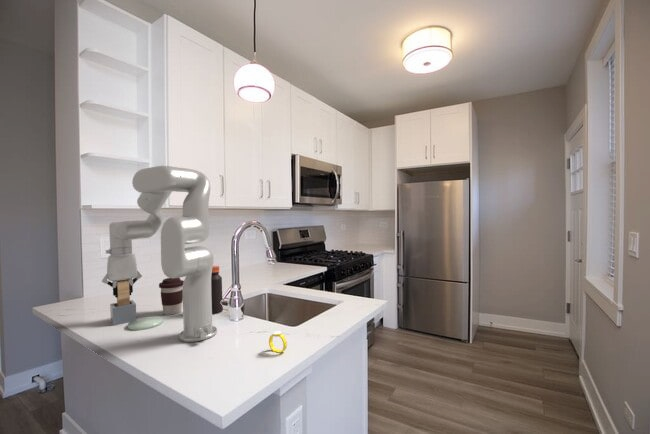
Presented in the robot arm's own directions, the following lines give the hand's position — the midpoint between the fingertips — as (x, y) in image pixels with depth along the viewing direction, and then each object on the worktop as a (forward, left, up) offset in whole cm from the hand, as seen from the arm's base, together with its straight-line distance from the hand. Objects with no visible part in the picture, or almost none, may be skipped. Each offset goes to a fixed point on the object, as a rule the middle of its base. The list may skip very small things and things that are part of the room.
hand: (123, 295), depth 126 cm
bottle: (-16, -32, -11) cm, 37 cm away
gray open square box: (0, 0, -11) cm, 11 cm away
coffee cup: (-3, -18, -11) cm, 21 cm away
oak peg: (0, 0, -8) cm, 8 cm away
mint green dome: (-12, -6, -11) cm, 17 cm away
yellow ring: (-69, -32, -11) cm, 77 cm away
